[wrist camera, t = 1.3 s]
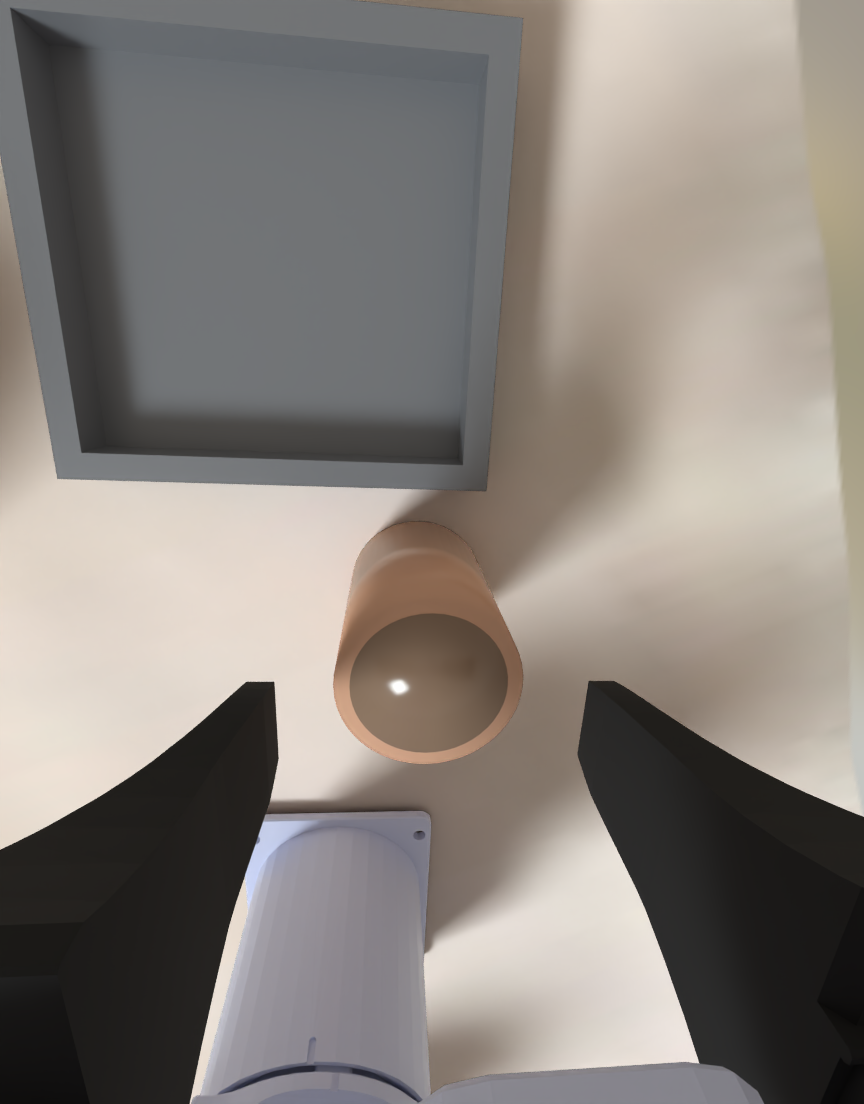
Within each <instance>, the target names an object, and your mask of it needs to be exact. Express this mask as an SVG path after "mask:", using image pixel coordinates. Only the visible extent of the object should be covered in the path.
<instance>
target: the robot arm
mask: <svg viewBox="0 0 864 1104" xmlns="http://www.w3.org/2000/svg"><path fill="white" fill-rule="evenodd" d="M578 758H579V761H580V764H581V767H582V770H583V773H584V777H585V779H586V782H587V785H588V788H589V791H590V794H591V796H592V798H593V800H594V803H595V805H596V807H597V809H598V811H599V813H600V815H601V817H602V819H603V822H604V824H605V826H606V828H607V830H608V832H609V834H610V836H611V838H612V840H613V842H614V844H615V846H616V848H617V850H618V852H619V854H620V856H621V858H622V860H623V862H624V864H625V867H626V869H627V871H628V873H629V875H630V877H631V879H632V881H633V883H634V885H635V887H636V889H637V891H638V894H639V896H640V898H641V900H642V903H643V905H644V907H645V910H646V912H647V915H648V917H649V920H650V923H651V925H652V928H653V931H654V933H655V936H656V939H657V941H658V944H659V947H660V949H661V952H662V955H663V957H664V960H665V963H666V966H667V968H668V971H669V974H670V977H671V980H672V983H673V986H674V988H675V991H676V994H677V997H678V1000H679V1003H680V1005H681V1008H682V1011H683V1014H684V1017H685V1020H686V1023H687V1026H688V1029H689V1032H690V1035H691V1039H692V1042H693V1045H694V1048H695V1051H696V1054H697V1057H698V1060H699V1063H700V1064H697V1063H689V1062H678V1063H663V1064H647V1065H632V1066H617V1067H601V1068H586V1069H571V1070H555V1071H540V1072H524V1073H509V1074H494V1075H485V1076H481V1077H477V1078H472V1079H468V1080H464V1081H460V1082H455V1083H451V1084H447V1085H444V1086H443V1087H441V1088H440V1089H438V1090H437V1091H435V1092H434V1093H432V1094H431V1087H430V1069H429V1051H428V1034H427V1016H426V999H425V981H424V945H425V928H426V910H427V892H428V874H429V856H430V838H431V819H430V816H429V814H428V813H426V812H424V811H390V812H345V813H300V814H266V812H267V808H268V805H269V802H270V798H271V793H272V789H273V784H274V779H275V774H276V769H277V764H278V759H279V757H278V740H277V722H276V704H275V686H274V682H246V683H245V684H243V685H242V686H241V687H240V688H239V689H238V690H237V691H235V692H234V693H233V694H232V695H231V696H230V697H229V698H228V699H226V700H225V701H224V702H223V703H222V704H221V705H220V706H219V707H218V708H216V709H215V710H214V711H213V712H212V713H211V714H210V715H209V716H208V717H206V718H205V719H204V720H203V721H202V722H201V723H199V724H198V725H197V726H196V727H195V728H194V729H193V730H191V731H190V732H189V733H188V734H187V735H185V736H184V737H183V738H182V739H180V740H179V741H178V742H176V743H175V744H174V745H173V746H171V747H170V748H169V749H168V750H166V751H165V752H164V753H162V754H161V755H160V756H159V757H157V758H156V759H155V760H153V761H152V762H151V763H149V764H148V765H147V766H145V767H144V768H142V769H141V770H140V771H138V772H137V773H135V774H134V775H132V776H131V777H129V778H128V779H126V780H125V781H123V782H122V783H120V784H119V785H117V786H116V787H114V788H113V789H111V790H110V791H108V792H106V793H105V794H103V795H102V796H100V797H98V798H97V799H95V800H93V801H91V802H90V803H88V804H86V805H84V806H83V807H81V808H79V809H77V810H76V811H74V812H72V813H70V814H68V815H67V816H65V817H63V818H61V819H60V820H58V821H56V822H54V823H53V824H51V825H49V826H47V827H45V828H43V829H41V830H40V831H38V832H36V833H34V834H32V835H30V836H28V837H26V838H24V839H22V840H20V841H18V842H16V843H14V844H12V845H9V846H7V847H5V848H3V849H1V850H0V1104H189V1103H190V1099H191V1094H192V1089H193V1084H194V1079H195V1075H196V1070H197V1065H198V1060H199V1056H200V1051H201V1046H202V1041H203V1037H204V1032H205V1028H206V1023H207V1019H208V1014H209V1010H210V1005H211V1001H212V997H213V992H214V988H215V983H216V979H217V975H218V970H219V966H220V962H221V958H222V953H223V949H224V945H225V941H226V937H227V932H228V928H229V924H230V921H231V918H232V914H233V911H234V907H235V904H236V901H237V898H238V895H239V892H240V889H241V886H242V883H243V880H244V877H245V881H246V892H247V904H248V914H247V918H246V921H245V925H244V929H243V933H242V937H241V940H240V944H239V948H238V952H237V956H236V959H235V963H234V967H233V971H232V975H231V978H230V982H229V986H228V990H227V994H226V997H225V1001H224V1005H223V1009H222V1013H221V1016H220V1020H219V1024H218V1028H217V1032H216V1035H215V1039H214V1043H213V1047H212V1051H211V1054H210V1058H209V1062H208V1066H207V1070H206V1073H205V1077H204V1081H203V1085H202V1089H201V1092H200V1095H197V1096H195V1097H194V1098H193V1099H192V1102H191V1104H864V817H863V816H860V815H857V814H855V813H852V812H850V811H847V810H845V809H842V808H840V807H838V806H835V805H833V804H831V803H828V802H826V801H824V800H821V799H819V798H817V797H814V796H812V795H810V794H807V793H805V792H803V791H801V790H799V789H797V788H794V787H792V786H790V785H788V784H786V783H784V782H782V781H780V780H778V779H776V778H774V777H772V776H770V775H768V774H766V773H764V772H762V771H760V770H758V769H756V768H754V767H752V766H750V765H749V764H747V763H745V762H743V761H741V760H739V759H738V758H736V757H734V756H732V755H731V754H729V753H727V752H726V751H724V750H722V749H720V748H719V747H717V746H715V745H714V744H712V743H710V742H709V741H707V740H705V739H704V738H702V737H701V736H699V735H697V734H696V733H694V732H693V731H691V730H689V729H688V728H686V727H685V726H683V725H682V724H680V723H679V722H677V721H676V720H674V719H672V718H671V717H669V716H668V715H666V714H665V713H663V712H662V711H660V710H659V709H657V708H656V707H654V706H653V705H651V704H650V703H649V702H647V701H646V700H644V699H643V698H641V697H639V696H638V695H636V694H635V693H633V692H632V691H630V690H629V689H627V688H625V687H624V686H622V685H620V684H619V683H617V682H615V681H589V683H588V690H587V696H586V702H585V709H584V715H583V722H582V728H581V735H580V741H579V747H578ZM416 831H422V832H420V833H417V832H416Z"/></svg>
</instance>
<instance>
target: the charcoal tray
mask: <svg viewBox="0 0 864 1104" xmlns="http://www.w3.org/2000/svg"><path fill="white" fill-rule="evenodd" d="M522 25H523V18H518V17H508V16H499V15H489V14H480V13H470V12H461V11H451V10H442V9H432V8H423V7H413V6H404V5H394V4H385V3H375V2H366V1H356V0H0V156H1V162H2V167H3V173H4V179H5V184H6V190H7V196H8V201H9V207H10V213H11V218H12V224H13V230H14V235H15V241H16V247H17V252H18V258H19V264H20V269H21V275H22V281H23V286H24V292H25V298H26V303H27V309H28V315H29V320H30V326H31V332H32V337H33V343H34V348H35V354H36V360H37V365H38V371H39V377H40V382H41V388H42V394H43V399H44V405H45V411H46V416H47V422H48V428H49V433H50V439H51V445H52V450H53V456H54V462H55V467H56V473H57V479H80V480H115V481H150V482H185V483H220V484H254V485H289V486H324V487H359V488H394V489H429V490H463V491H486V489H487V476H488V463H489V450H490V437H491V424H492V412H493V399H494V386H495V373H496V360H497V347H498V334H499V321H500V308H501V296H502V283H503V270H504V257H505V244H506V231H507V218H508V205H509V192H510V180H511V167H512V154H513V141H514V128H515V115H516V102H517V89H518V76H519V64H520V51H521V38H522Z"/></svg>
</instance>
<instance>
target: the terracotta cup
mask: <svg viewBox="0 0 864 1104" xmlns="http://www.w3.org/2000/svg"><path fill="white" fill-rule="evenodd" d="M522 686H523V669H522V662H521V659H520V655H519V652H518V650H517V648H516V645H515V643H514V641H513V639H512V636H511V634H510V632H509V630H508V628H507V626H506V623H505V621H504V619H503V617H502V615H501V613H500V610H499V608H498V606H497V604H496V602H495V600H494V597H493V595H492V593H491V591H490V589H489V587H488V584H487V582H486V580H485V578H484V576H483V574H482V571H481V569H480V567H479V565H478V563H477V561H476V558H475V556H474V554H473V552H472V551H471V549H470V548H469V546H468V545H467V544H466V543H465V541H464V540H463V539H462V538H460V537H459V536H458V535H457V534H455V533H454V532H453V531H451V530H449V529H447V528H445V527H443V526H440V525H438V524H434V523H430V522H421V521H413V522H405V523H400V524H397V525H393V526H391V527H389V528H387V529H385V530H383V531H381V532H380V533H378V534H377V535H376V536H374V537H373V538H372V539H371V540H370V541H369V542H368V543H367V544H366V545H365V547H364V548H363V549H362V551H361V552H360V554H359V556H358V558H357V560H356V563H355V566H354V570H353V575H352V580H351V586H350V591H349V597H348V602H347V607H346V613H345V618H344V624H343V629H342V634H341V640H340V645H339V650H338V656H337V661H336V667H335V672H334V682H333V688H334V698H335V702H336V706H337V709H338V711H339V713H340V716H341V718H342V720H343V721H344V723H345V725H346V726H347V728H348V729H349V730H350V731H351V733H352V734H353V735H354V736H355V737H356V738H357V739H358V740H359V741H360V742H361V743H363V744H364V745H366V746H367V747H368V748H370V749H371V750H373V751H375V752H377V753H379V754H381V755H383V756H386V757H388V758H391V759H394V760H398V761H401V762H407V763H415V764H432V763H441V762H446V761H451V760H454V759H458V758H461V757H463V756H466V755H468V754H471V753H472V752H474V751H476V750H478V749H480V748H481V747H483V746H484V745H486V744H487V743H489V742H490V741H491V740H492V739H493V738H494V737H496V736H497V735H498V734H499V733H500V732H501V731H502V729H503V728H504V727H505V726H506V725H507V723H508V722H509V720H510V719H511V717H512V716H513V714H514V712H515V710H516V708H517V706H518V703H519V700H520V697H521V692H522Z"/></svg>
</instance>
